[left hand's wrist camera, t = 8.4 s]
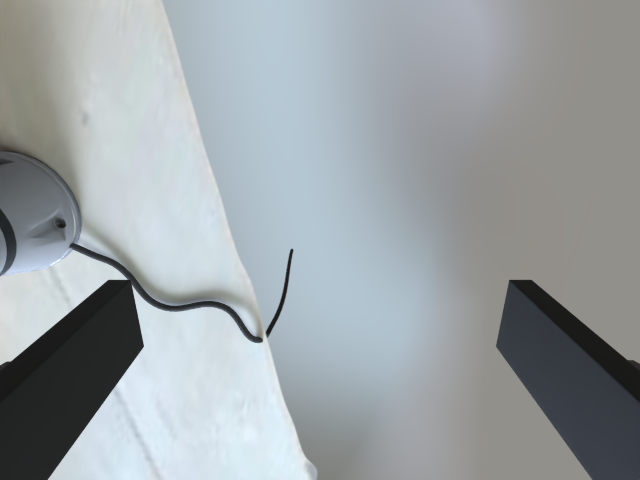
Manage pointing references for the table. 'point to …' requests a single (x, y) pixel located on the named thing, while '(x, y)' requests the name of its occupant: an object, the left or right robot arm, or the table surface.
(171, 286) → the table surface
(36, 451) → the left robot arm
